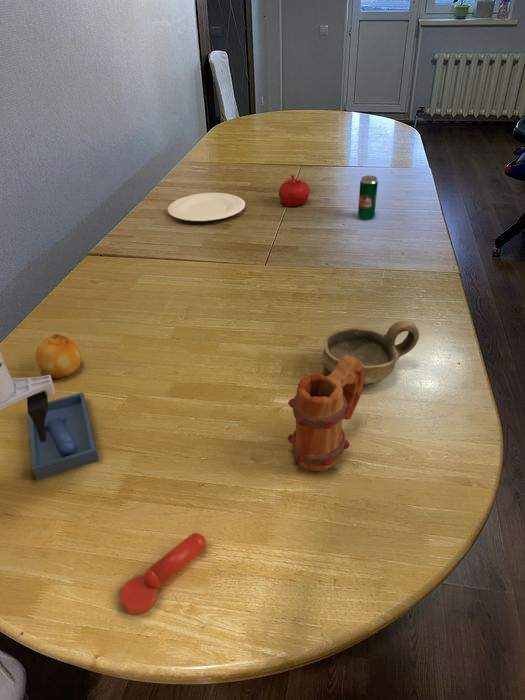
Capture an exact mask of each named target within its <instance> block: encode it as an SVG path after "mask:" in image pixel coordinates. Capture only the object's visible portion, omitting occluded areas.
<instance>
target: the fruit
mask: <svg viewBox="0 0 525 700" xmlns="http://www.w3.org/2000/svg"><path fill="white" fill-rule="evenodd" d="M35 363H36V366H37V368H38V369H39V371H41V373H42V374H44V376H46V375H51V378H55V379H60V378H65V377H68V376H70V375H72V374H74V373H75V372H76V371H77V370H78V369H79V368H80V367H81V363H82V352H81V350H80V348H79V346H78V345H77V343H75V341H74V340H72V339H71V338H69V337H67V336H65V335H62V334H59V333H54V334H51V336H47V337H46V338H45V339H44V340H42V341H41V342H40V344H39V345H38V346H37V348H36V351H35Z"/></svg>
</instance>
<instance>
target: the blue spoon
mask: <svg viewBox="0 0 525 700" xmlns="http://www.w3.org/2000/svg"><path fill="white" fill-rule="evenodd" d="M66 420H67V418H66V415H65V413H64V411H62V410H59V409H53V410H49V411H47V414H46V418H45V431H50V433H51V435H52V437H53V439H54V441H55V443H56V445H57V447H58V449H59V451H60V453H61V454H62V455H64V456H70V455H73V454H74V453H75V452H76V449H77V445H76V443H75V441H74V439H73V437H72V435H71V434H70V432H69V430H68V428H67V426H66V424H65V423H66Z"/></svg>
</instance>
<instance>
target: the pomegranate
mask: <svg viewBox="0 0 525 700" xmlns="http://www.w3.org/2000/svg"><path fill="white" fill-rule="evenodd" d="M282 182H283V183H282V184H281V185H280V187H279V189H278V198H279V199H280V201H281V203H282V204H283V205H285V206H286V207H297V206H303V205H304V204H305V203H306V202H308V199H309V197H310V193H311V188H310V186H309V185H310V184H308V183H307V182H306V181H305V179H301V178H300V179H299V177H296V178H295V174H290V178H289V177H288V178H286V180H283V181H282Z"/></svg>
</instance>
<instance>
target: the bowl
mask: <svg viewBox="0 0 525 700" xmlns="http://www.w3.org/2000/svg"><path fill="white" fill-rule="evenodd" d="M403 332H407V335H406V336H405V338H404V339H403V340H402V341H401V342H399V343H397V344H396V339H397V338H398V336H399V335H400V334H401V333H403ZM419 340H420V331H419V328H418V327H417V325H416V324H415V322H413V321H411V320H405V319H403V320H399V321H396V322H394V323H393V324H392V325H390V327H389V328H388V330H387V331H386V333H382V332H379V331H375V330H373V329H368V328H361V327H343V328H339V329H337V330H334V331H332V332H331V333H328V334H327V335H326V336H325V338H324V340H323V352H322V355H321V359H320V363H321V365H323V366H324V368H326V369H327V370H328V371H329V372H330V373H332V372H333V371H334V370H335V368H336V366H337V365H338V363H339V361H340V360H341V358H343V357H344V356H345V355H350V356H352V357H355V358H356V359H358V360H360V361H361V362H362V364H363V366H364V371H365V379H364V385H369V384H375V383H379V382H382V381H383V380H385V379H387V378H388V377H389V376H390V375H391V374H392V373H393V372H394V369H395V365H396V363H397V362H398V360H399V359H400V358H401V357H402V356H405V355H406V354H408V353H410V352H411V351H412V350H413V349H414V348H415V347H416V345H417V343H418V342H419Z"/></svg>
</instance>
